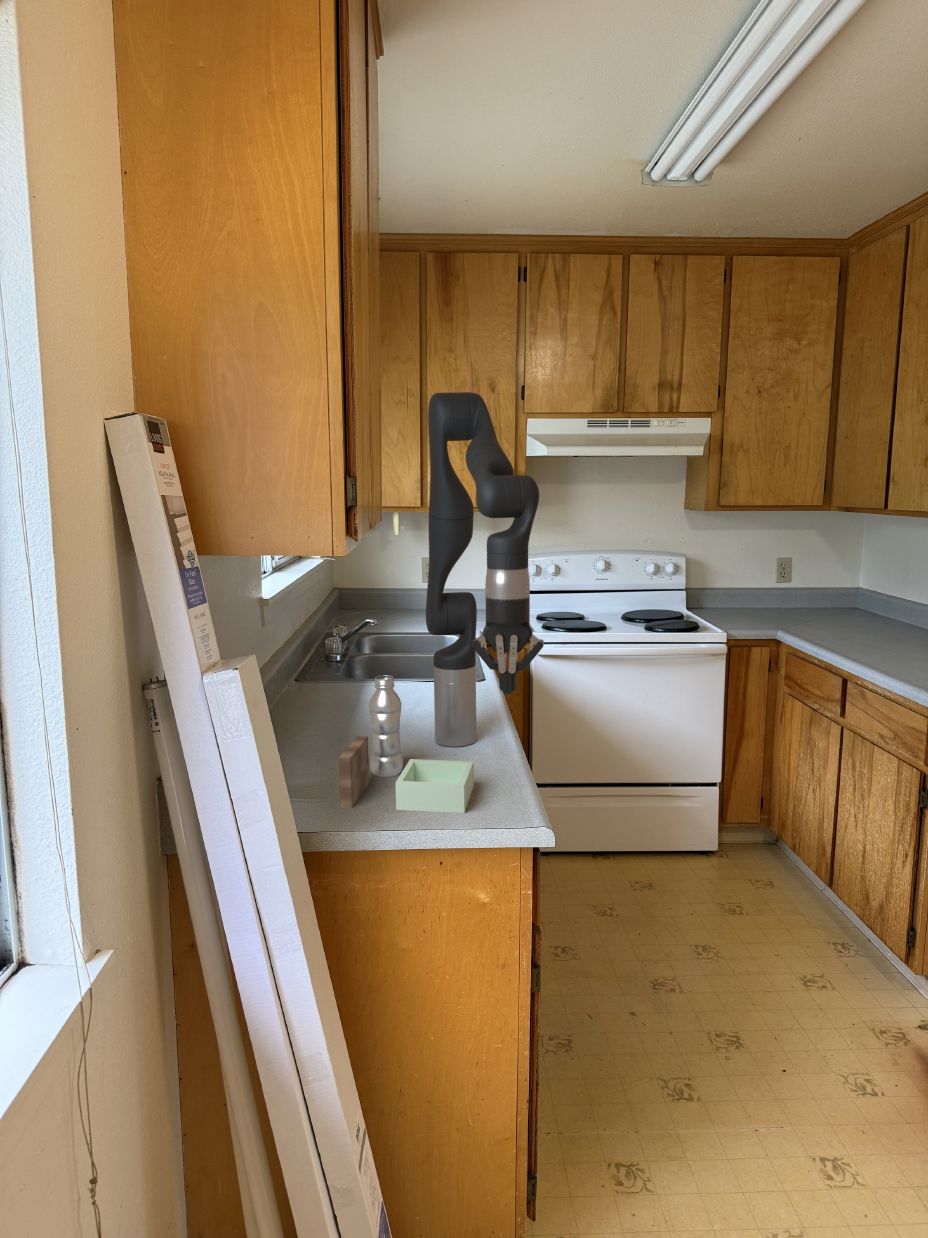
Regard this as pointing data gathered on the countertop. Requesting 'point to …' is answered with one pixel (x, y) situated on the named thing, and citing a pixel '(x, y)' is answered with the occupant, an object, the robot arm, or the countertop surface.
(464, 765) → the socket block
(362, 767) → the backstop
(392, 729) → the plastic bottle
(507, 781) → the countertop surface
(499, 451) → the robot arm
